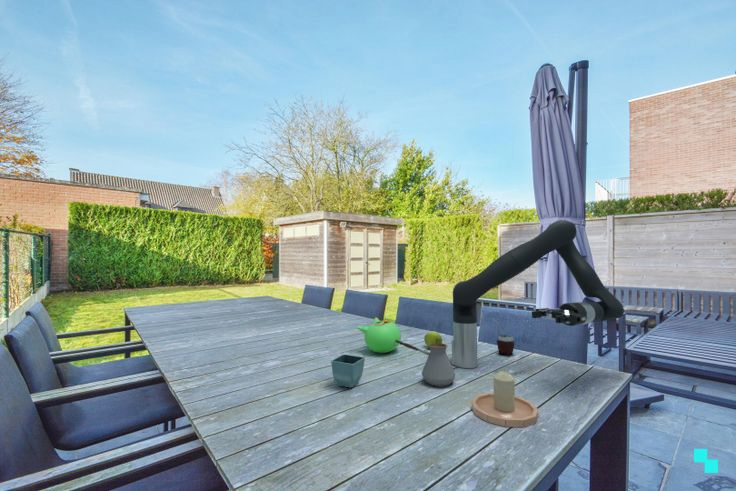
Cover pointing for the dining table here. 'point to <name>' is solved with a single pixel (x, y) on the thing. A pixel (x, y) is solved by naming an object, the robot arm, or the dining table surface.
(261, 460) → the dining table surface
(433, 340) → the apple
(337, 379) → the flower pot
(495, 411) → the saucer
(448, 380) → the coffee pot
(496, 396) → the candle
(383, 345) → the green teapot
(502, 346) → the mate gourd
